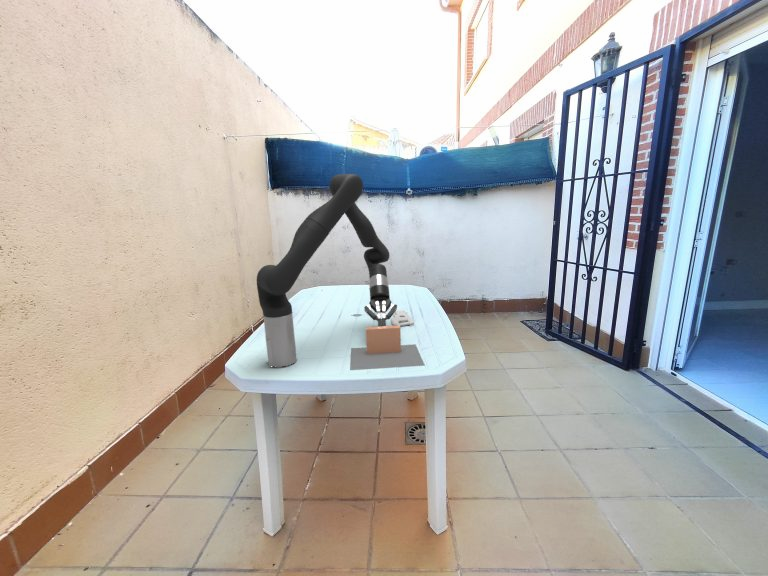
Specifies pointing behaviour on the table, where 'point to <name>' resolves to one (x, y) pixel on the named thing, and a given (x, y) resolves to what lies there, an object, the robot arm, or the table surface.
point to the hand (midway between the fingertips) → (382, 329)
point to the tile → (383, 339)
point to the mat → (385, 358)
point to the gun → (401, 319)
